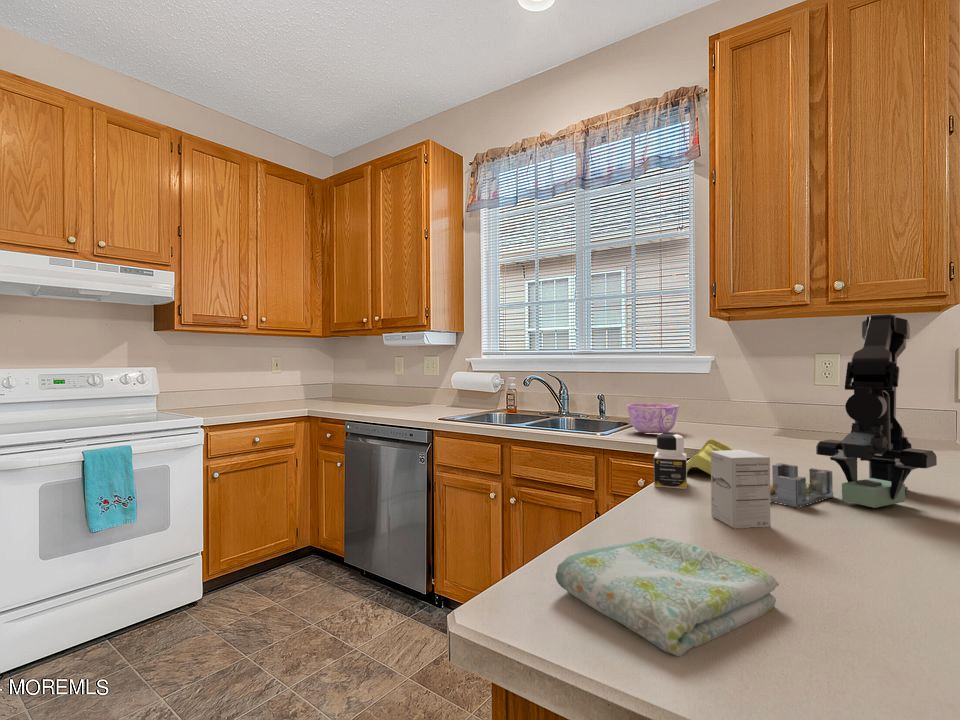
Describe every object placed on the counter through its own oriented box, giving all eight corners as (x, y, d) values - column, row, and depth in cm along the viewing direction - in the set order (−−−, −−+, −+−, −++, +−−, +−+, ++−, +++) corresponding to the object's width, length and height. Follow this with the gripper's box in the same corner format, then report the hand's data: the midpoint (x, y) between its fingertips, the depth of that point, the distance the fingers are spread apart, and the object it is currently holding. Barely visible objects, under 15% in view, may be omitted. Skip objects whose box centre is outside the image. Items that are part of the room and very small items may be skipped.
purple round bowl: (679, 438, 196) (679, 407, 196) (624, 436, 203) (624, 406, 203) (679, 431, 214) (678, 403, 214) (629, 429, 222) (628, 402, 222)
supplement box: (710, 517, 98) (709, 450, 98) (747, 515, 99) (746, 449, 99) (732, 529, 91) (731, 457, 91) (772, 527, 91) (771, 456, 91)
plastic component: (729, 471, 127) (690, 451, 132) (716, 496, 129) (678, 475, 134) (741, 453, 143) (706, 435, 148) (729, 475, 145) (695, 457, 150)
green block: (872, 494, 109) (872, 475, 109) (905, 501, 104) (904, 481, 104) (842, 500, 105) (841, 480, 105) (874, 507, 100) (874, 487, 100)
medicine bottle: (654, 486, 122) (653, 436, 122) (655, 480, 128) (655, 432, 128) (686, 489, 119) (686, 437, 119) (686, 482, 126) (686, 433, 126)
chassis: (780, 486, 120) (780, 463, 120) (833, 496, 111) (832, 471, 111) (744, 496, 112) (743, 471, 112) (797, 508, 103) (797, 480, 103)
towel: (785, 609, 63) (784, 566, 63) (672, 667, 51) (672, 615, 51) (660, 561, 78) (659, 527, 78) (552, 597, 66) (551, 557, 66)
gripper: (802, 417, 108) (803, 492, 108) (914, 425, 92) (915, 513, 92) (828, 413, 114) (829, 484, 114) (937, 421, 98) (938, 503, 98)
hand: (873, 495), depth 104 cm, fingers closed on green block, 6 cm apart
